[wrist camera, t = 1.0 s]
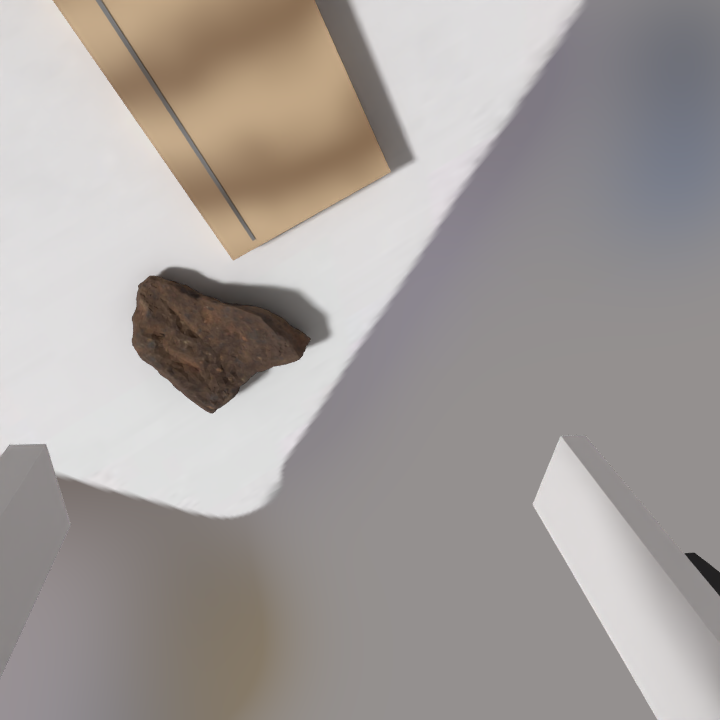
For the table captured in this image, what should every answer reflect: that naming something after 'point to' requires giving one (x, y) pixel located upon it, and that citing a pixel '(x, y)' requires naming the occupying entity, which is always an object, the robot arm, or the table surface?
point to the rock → (208, 341)
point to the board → (237, 105)
